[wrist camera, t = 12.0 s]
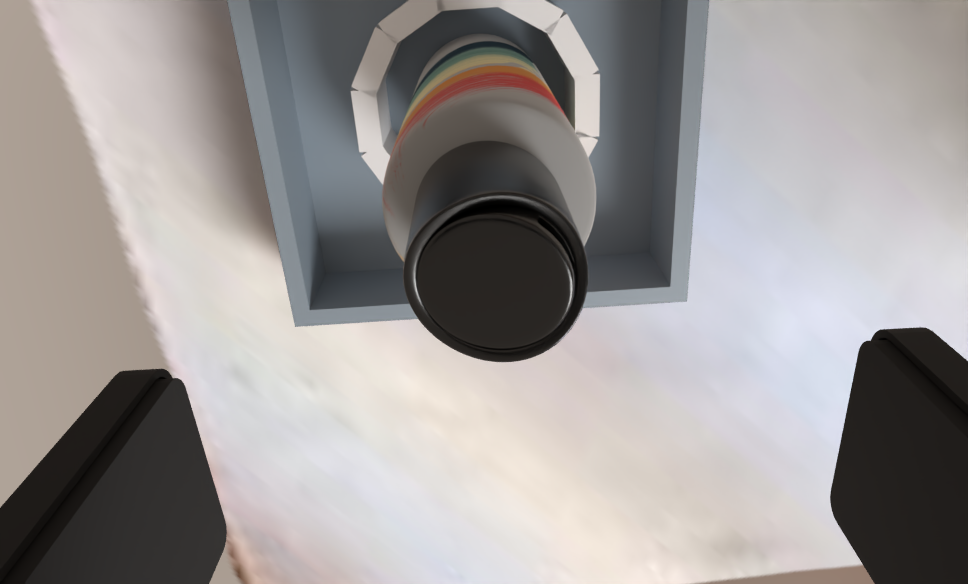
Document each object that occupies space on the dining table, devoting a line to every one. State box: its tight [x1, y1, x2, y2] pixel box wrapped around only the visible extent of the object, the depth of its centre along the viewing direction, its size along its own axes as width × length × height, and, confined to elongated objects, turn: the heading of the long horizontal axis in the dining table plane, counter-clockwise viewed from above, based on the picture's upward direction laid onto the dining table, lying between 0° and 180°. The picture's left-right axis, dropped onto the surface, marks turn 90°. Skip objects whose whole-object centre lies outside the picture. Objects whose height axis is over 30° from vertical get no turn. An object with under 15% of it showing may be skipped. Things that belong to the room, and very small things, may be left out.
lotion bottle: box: [382, 34, 596, 362], centre depth 23 cm, size 6×6×20 cm
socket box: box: [227, 0, 709, 327], centre depth 30 cm, size 18×18×5 cm
